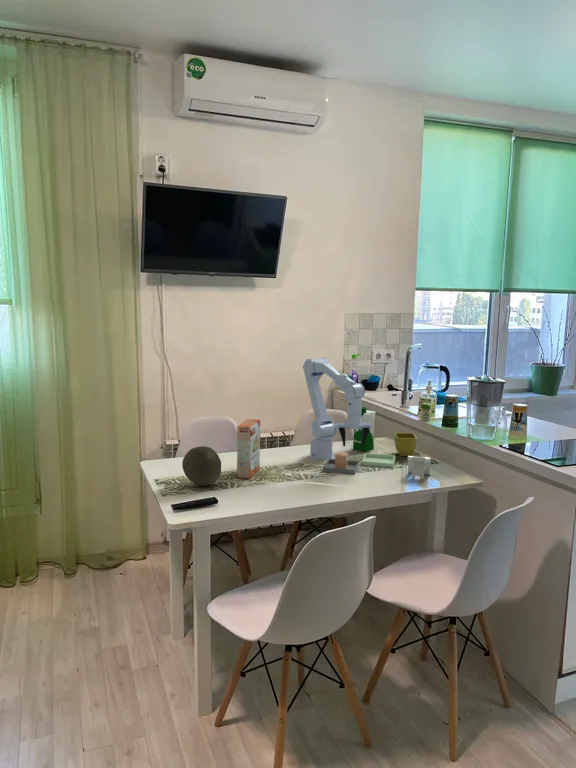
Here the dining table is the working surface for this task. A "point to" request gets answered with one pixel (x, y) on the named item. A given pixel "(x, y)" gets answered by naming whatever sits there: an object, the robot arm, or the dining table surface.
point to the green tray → (378, 460)
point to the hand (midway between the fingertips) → (353, 445)
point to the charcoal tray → (350, 469)
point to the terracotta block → (341, 460)
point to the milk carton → (369, 442)
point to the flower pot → (405, 443)
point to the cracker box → (248, 448)
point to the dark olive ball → (202, 466)
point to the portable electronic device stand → (418, 466)
